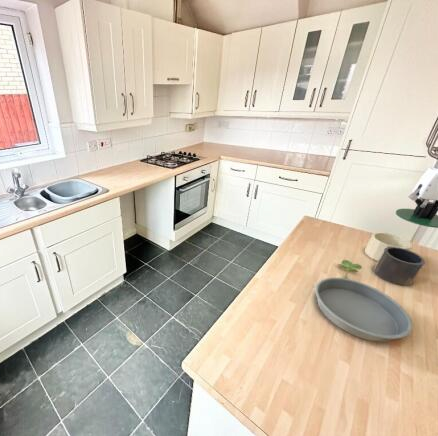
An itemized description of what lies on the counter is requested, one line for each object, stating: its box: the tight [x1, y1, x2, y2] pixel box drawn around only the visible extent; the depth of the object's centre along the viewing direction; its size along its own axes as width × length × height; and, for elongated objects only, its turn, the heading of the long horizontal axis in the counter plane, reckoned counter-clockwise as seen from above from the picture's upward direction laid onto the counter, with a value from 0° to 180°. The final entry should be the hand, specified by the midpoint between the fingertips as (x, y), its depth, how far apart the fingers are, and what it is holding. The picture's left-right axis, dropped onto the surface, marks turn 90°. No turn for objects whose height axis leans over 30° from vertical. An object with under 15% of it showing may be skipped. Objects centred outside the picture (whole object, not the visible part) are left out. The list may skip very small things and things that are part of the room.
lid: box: [395, 201, 438, 229], centre depth 85 cm, size 14×14×7 cm
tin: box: [364, 231, 413, 262], centre depth 104 cm, size 13×13×8 cm
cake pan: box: [315, 277, 414, 343], centre depth 79 cm, size 25×25×4 cm
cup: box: [373, 247, 426, 286], centre depth 93 cm, size 11×11×10 cm
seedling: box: [337, 259, 362, 278], centre depth 96 cm, size 7×8×6 cm
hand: (422, 216), depth 86 cm, fingers closed on lid, 2 cm apart
